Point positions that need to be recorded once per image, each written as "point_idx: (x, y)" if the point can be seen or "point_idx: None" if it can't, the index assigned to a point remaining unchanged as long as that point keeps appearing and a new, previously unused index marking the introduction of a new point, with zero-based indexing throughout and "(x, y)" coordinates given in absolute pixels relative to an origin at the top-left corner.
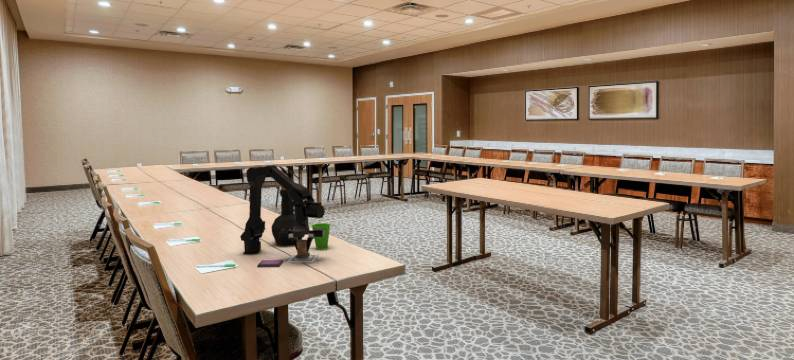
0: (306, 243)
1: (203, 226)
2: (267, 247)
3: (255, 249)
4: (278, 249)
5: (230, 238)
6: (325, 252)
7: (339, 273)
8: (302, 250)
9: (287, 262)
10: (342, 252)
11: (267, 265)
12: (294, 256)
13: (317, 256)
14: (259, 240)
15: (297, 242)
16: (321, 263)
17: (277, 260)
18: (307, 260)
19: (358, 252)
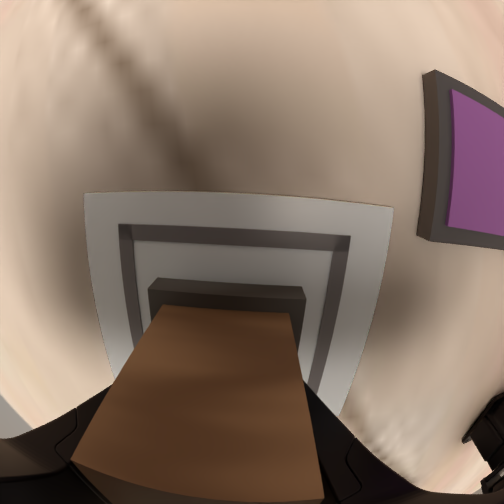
0: (100, 443)
1: (470, 493)
2: (427, 470)
3: (500, 415)
4: (396, 468)
5: (471, 476)
6: None
7: (3, 7)
8: (202, 350)
9: (382, 206)
10: (35, 396)
11: (499, 109)
12: (322, 384)
13: (112, 358)
14: (489, 462)
15: (303, 486)
16: (39, 159)
17: (472, 208)
18: (157, 234)
19: None
